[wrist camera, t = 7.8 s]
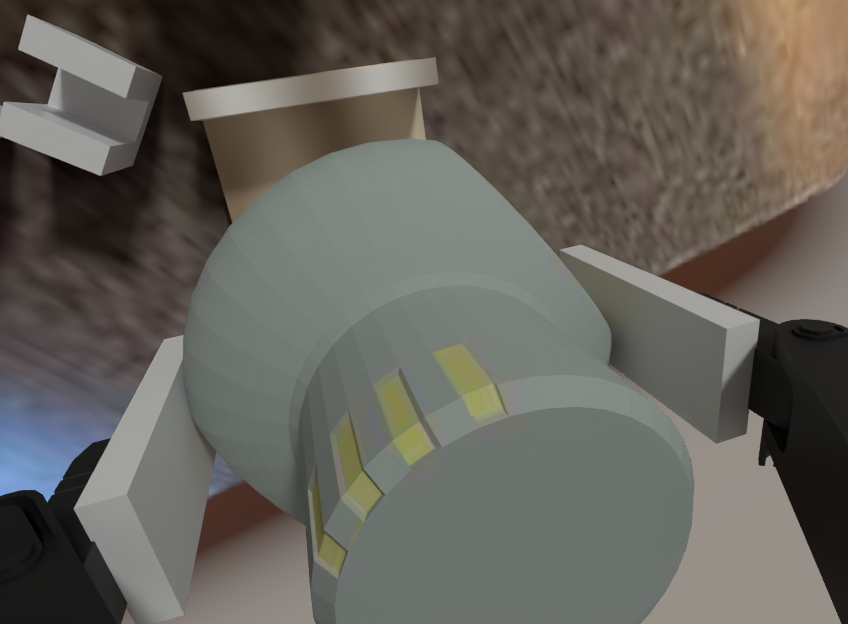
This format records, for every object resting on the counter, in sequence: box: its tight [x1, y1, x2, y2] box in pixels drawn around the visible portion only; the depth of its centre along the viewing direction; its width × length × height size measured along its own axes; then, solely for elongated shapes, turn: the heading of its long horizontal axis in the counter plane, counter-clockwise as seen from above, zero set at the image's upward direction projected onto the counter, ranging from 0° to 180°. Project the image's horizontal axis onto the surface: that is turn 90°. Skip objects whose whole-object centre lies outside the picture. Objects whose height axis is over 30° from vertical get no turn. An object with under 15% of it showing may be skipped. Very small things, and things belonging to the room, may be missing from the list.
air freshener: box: [183, 139, 694, 624], centre depth 12 cm, size 11×8×10 cm
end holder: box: [183, 58, 439, 223], centre depth 30 cm, size 12×17×5 cm
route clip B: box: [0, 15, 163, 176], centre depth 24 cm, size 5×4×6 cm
